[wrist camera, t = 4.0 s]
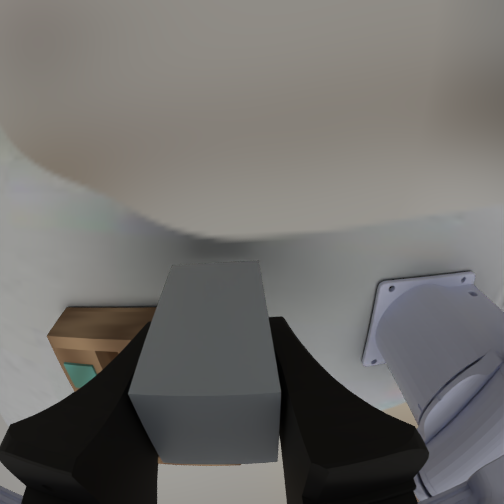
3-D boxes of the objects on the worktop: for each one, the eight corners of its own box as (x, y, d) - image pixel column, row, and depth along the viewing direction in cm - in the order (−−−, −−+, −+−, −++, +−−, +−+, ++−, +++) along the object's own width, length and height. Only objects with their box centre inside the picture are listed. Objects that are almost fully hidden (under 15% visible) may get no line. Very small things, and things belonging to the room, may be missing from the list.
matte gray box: (258, 260, 13) (281, 391, 7) (260, 329, 14) (277, 461, 8) (172, 264, 13) (127, 393, 6) (184, 333, 14) (162, 462, 8)
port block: (225, 305, 20) (225, 341, 17) (239, 436, 27) (241, 466, 24) (66, 307, 20) (45, 337, 17) (124, 432, 27) (117, 460, 23)
